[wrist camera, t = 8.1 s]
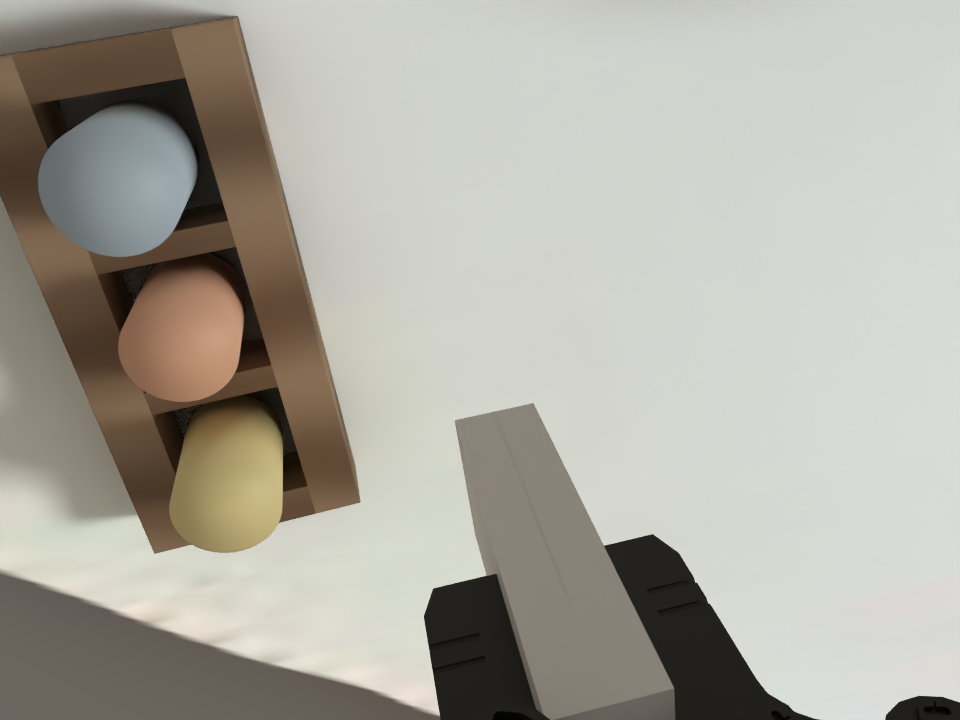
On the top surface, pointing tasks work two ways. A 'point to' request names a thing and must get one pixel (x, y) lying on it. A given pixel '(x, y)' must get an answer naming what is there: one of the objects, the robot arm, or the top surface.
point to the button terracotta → (185, 329)
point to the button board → (234, 223)
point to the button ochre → (229, 476)
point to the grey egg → (120, 179)
